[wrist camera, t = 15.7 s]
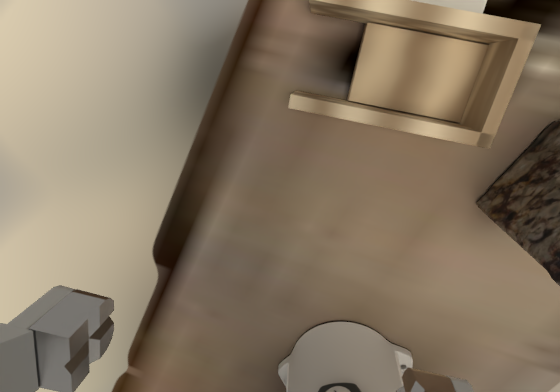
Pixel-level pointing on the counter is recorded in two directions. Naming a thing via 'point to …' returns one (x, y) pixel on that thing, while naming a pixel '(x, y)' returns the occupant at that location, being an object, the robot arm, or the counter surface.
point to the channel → (427, 69)
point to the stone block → (531, 201)
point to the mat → (459, 4)
